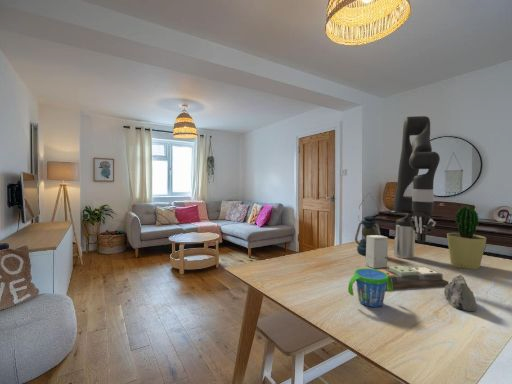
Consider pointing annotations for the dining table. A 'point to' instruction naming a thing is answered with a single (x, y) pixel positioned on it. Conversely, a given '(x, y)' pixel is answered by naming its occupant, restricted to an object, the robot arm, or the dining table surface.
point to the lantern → (366, 232)
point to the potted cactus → (466, 240)
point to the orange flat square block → (386, 272)
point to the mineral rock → (460, 294)
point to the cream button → (424, 270)
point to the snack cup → (371, 286)
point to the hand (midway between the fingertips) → (421, 241)
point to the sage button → (403, 270)
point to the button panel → (416, 280)
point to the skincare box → (376, 251)
